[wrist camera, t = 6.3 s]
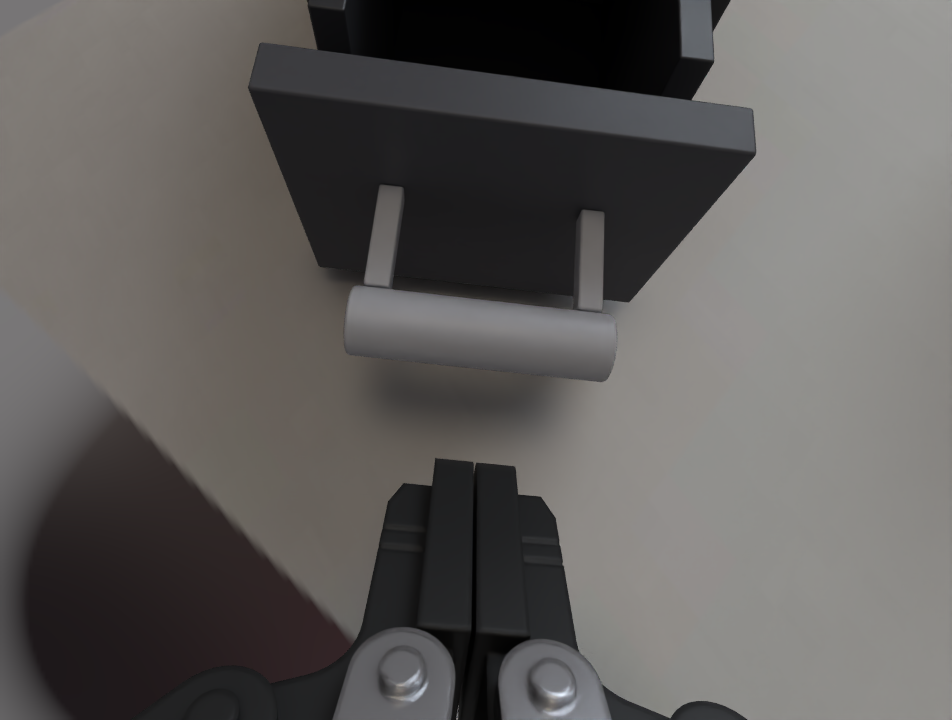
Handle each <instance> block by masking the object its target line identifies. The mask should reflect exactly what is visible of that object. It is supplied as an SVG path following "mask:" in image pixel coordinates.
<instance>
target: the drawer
mask: <svg viewBox="0 0 952 720" xmlns="http://www.w3.org/2000/svg"><path fill="white" fill-rule="evenodd" d="M308 9H309V13H310V18H311V22H312V27H313V31H314V36H315V40H316V45H317V49H318V50H314V49H306V48H299V47H292V46H284V45H277V44H269V43H260V44H259V47H258V51H257V55H256V59H255V63H254V66H253V70H252V74H251V78H250V82H249V86H248V89H249V92H250V94H251V97H252V99H253V102H254V104H255V107H256V109H257V112H258V114H259V117H260V119H261V122H262V124H263V127H264V129H265V132H266V134H267V137H268V139H269V142H270V145H271V147H272V150H273V152H274V155H275V157H276V160H277V162H278V165H279V167H280V170H281V172H282V175H283V177H284V180H285V182H286V185H287V187H288V190H289V192H290V195H291V197H292V200H293V202H294V205H295V207H296V210H297V212H298V215H299V217H300V220H301V222H302V225H303V227H304V230H305V232H306V235H307V237H308V240H309V242H310V245H311V247H312V250H313V252H314V255H315V258H316V260H317V263H318V265H319V266H320V267H326V268H334V269H343V270H352V271H360V272H365V277H364V286H358V285H356V286H353V288H352V289H351V291H350V294H349V297H348V301H347V306H346V312H345V321H344V346H345V350H346V353H347V354H349V355H354V356H364V357H373V358H382V359H391V360H401V361H410V362H419V363H429V364H438V365H447V366H457V367H466V368H475V369H485V370H494V371H503V372H513V373H522V374H531V375H541V376H550V377H559V378H568V379H578V380H587V381H596V382H603V381H605V380H607V378H608V377H609V375H610V373H611V370H612V368H613V365H614V361H615V356H616V349H617V326H616V322H615V319H614V317H613V316H612V315H610V314H604V313H601V312H602V310H603V299H604V300H612V301H621V302H630V301H631V300H632V298H633V297H634V296H635V295H636V294H637V293H638V291H639V290H640V289H641V288H642V287H643V286H644V285H645V283H646V282H647V281H648V280H649V279H650V278H651V276H652V275H653V274H654V273H655V272H656V271H657V269H658V268H659V267H660V266H661V265H662V264H663V262H664V261H665V260H666V259H667V258H668V257H669V255H670V254H671V253H672V252H673V251H674V250H675V248H676V247H677V246H678V245H679V244H680V243H681V241H682V240H683V239H684V238H685V237H686V236H687V234H688V233H689V232H690V231H691V230H692V229H693V227H694V226H695V225H696V224H697V223H698V222H699V220H700V219H701V218H702V217H703V216H704V215H705V213H706V212H707V211H708V210H709V209H710V208H711V206H712V205H713V204H714V203H715V202H716V201H717V199H718V198H719V197H720V196H721V195H722V194H723V193H724V191H725V190H726V189H727V188H728V187H729V186H730V184H731V183H732V182H733V181H734V180H735V179H736V177H737V176H738V175H739V174H740V173H741V172H742V170H743V169H744V168H745V167H746V166H747V165H748V163H749V162H750V161H751V160H752V159H753V158H754V156H755V155H756V143H755V130H754V116H753V110H752V109H751V108H744V107H737V106H729V105H722V104H714V103H707V102H700V101H692V98H693V96H694V95H695V93H696V91H697V90H698V88H699V86H700V85H701V83H702V81H703V80H704V78H705V77H706V75H707V73H708V72H709V70H710V68H711V67H712V65H713V63H714V47H713V28H712V9H711V0H309V3H308ZM394 275H395V276H404V277H413V278H421V279H430V280H439V281H447V282H456V283H465V284H473V285H482V286H491V287H499V288H508V289H517V290H526V291H534V292H543V293H552V294H560V295H569V296H573V310H569V309H560V308H552V307H543V306H534V305H525V304H516V303H508V302H499V301H490V300H481V299H472V298H464V297H455V296H446V295H437V294H429V293H420V292H411V291H402V290H393V289H392V284H393V277H394Z"/></svg>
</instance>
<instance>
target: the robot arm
mask: <svg viewBox="0 0 952 720" xmlns="http://www.w3.org/2000/svg"><path fill="white" fill-rule="evenodd" d="M562 562H563V560H562V554H561V548H560V546H559V536H558V530H557V524H556V518H555V517H554V515H553V514H552V512H551V511H550V509H549V508H548V506H547V505H546V503H545V502H544V501H543V499H542V498H541V497H538V496H527V495H518V489H517V478H516V469H515V467H514V466H506V465H496V464H486V463H476V465H475V470H474V463H473V462H468V461H458V460H448V459H438V458H435V465H434V474H433V483H432V486H427V485H417V484H407V483H403V485H402V486H401V487H400V488H399V489H398V490H397V492H396V493H395V494H394V495H393V496H392V498H391V499H390V500H389V501H388V504H387V509H386V514H385V518H384V523H383V529H382V533H381V537H380V542H379V549H378V552H377V556H376V561H375V566H374V571H373V576H372V580H371V585H370V590H369V595H368V599H367V604H366V609H365V614H364V618H363V623H362V626H361V630H360V632H359V634H358V637H357V639H356V640H355V642H354V643H353V645H352V646H351V648H350V649H349V650H348V651H347V652H346V653H345V654H344V655H343V656H342V657H340V658H339V659H338V660H337V661H336V662H334V663H332V664H331V665H329V666H328V667H326V668H324V669H321V670H319V671H317V672H314V673H311V674H308V675H304V676H300V677H296V678H292V679H287V680H283V681H279V682H275V683H271V684H270V683H269V682H268V680H267V679H266V678H265V677H263V676H262V675H261V674H260V673H258V672H256V671H254V670H252V669H249V668H246V667H242V666H221V667H216V668H212V669H209V670H205V671H203V672H201V673H199V674H196V675H194V676H192V677H191V678H189V679H187V680H186V681H184V682H183V683H181V684H180V685H178V686H177V687H176V688H174V689H173V690H171V691H170V692H169V693H167V694H166V695H164V696H163V697H162V698H160V699H159V700H157V701H156V702H155V703H153V704H152V705H151V706H149V707H148V708H146V709H145V710H143V711H142V712H141V713H139V714H138V715H136V716H135V717H134V718H132V719H131V720H456V716H457V710H458V704H459V710H458V720H747V719H746V718H744V717H743V716H741V715H740V714H738V713H737V712H735V711H733V710H731V709H729V708H727V707H725V706H723V705H720V704H717V703H713V702H708V701H696V702H690V703H687V704H685V705H683V706H681V707H680V708H679V709H677V710H676V711H675V713H674V714H673V715H672V717H671V719H670V718H668V717H665V716H663V715H661V714H658V713H656V712H653V711H651V710H649V709H646V708H644V707H641V706H639V705H636V704H634V703H632V702H629V701H627V700H625V699H623V698H621V697H619V696H617V695H616V694H614V693H613V692H611V691H609V690H608V689H607V688H606V687H605V686H603V685H602V684H601V681H600V678H599V676H598V674H597V673H596V671H595V669H594V668H593V666H592V665H591V664H590V662H589V661H588V660H587V659H586V658H585V657H584V656H583V655H582V654H580V653H579V650H578V646H577V642H576V636H575V631H574V625H573V619H572V613H571V607H570V601H569V595H568V589H567V583H566V577H565V571H564V566H563V565H562Z"/></svg>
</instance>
